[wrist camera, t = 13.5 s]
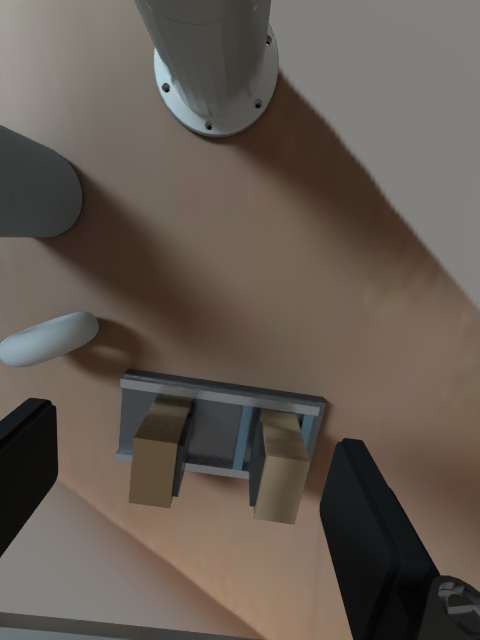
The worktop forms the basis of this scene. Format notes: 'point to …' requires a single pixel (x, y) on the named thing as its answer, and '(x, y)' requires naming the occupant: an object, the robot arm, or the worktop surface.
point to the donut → (48, 339)
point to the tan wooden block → (277, 467)
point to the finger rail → (197, 429)
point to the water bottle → (35, 189)
